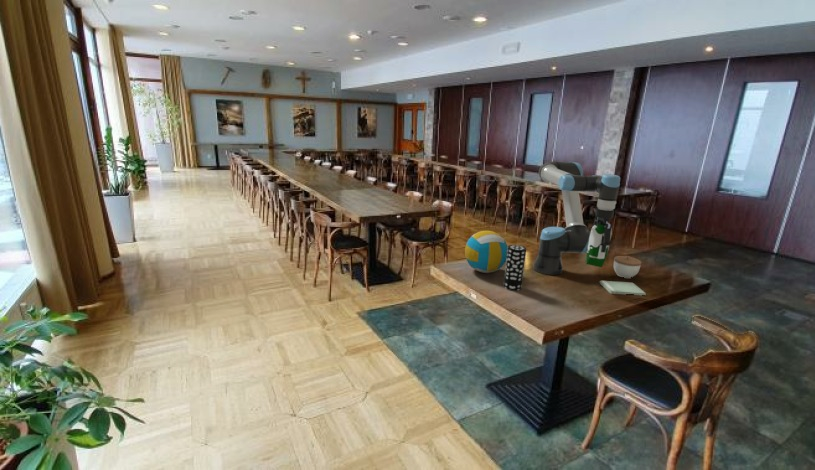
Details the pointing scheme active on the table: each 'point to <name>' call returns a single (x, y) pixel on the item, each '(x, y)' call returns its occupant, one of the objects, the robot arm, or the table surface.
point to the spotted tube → (514, 267)
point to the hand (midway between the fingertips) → (596, 254)
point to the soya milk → (596, 246)
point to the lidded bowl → (626, 266)
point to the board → (621, 288)
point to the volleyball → (486, 251)
